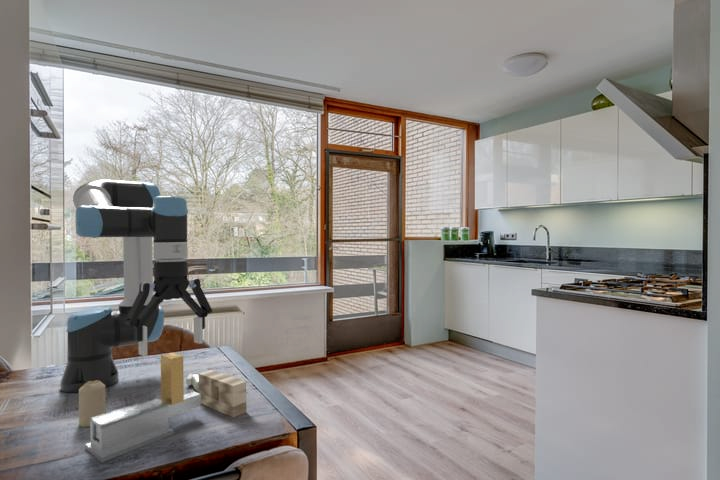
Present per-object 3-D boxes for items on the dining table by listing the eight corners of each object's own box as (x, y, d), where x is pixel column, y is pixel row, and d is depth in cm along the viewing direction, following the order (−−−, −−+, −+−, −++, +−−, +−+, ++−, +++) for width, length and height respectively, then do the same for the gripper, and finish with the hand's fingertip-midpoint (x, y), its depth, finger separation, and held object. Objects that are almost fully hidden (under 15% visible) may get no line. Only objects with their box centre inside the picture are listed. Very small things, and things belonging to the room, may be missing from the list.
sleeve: (85, 448, 88) (84, 416, 88) (155, 423, 100) (155, 395, 100) (102, 462, 82) (101, 428, 82) (174, 434, 94) (173, 404, 94)
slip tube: (93, 435, 88) (93, 370, 87) (192, 402, 105) (191, 348, 105) (103, 442, 84) (102, 375, 84) (202, 406, 102) (202, 351, 102)
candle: (85, 429, 97) (85, 387, 97) (74, 423, 100) (74, 383, 100) (110, 420, 102) (109, 380, 102) (98, 415, 105) (98, 376, 105)
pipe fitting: (203, 394, 120) (216, 385, 126) (203, 382, 119) (215, 372, 126) (179, 392, 121) (193, 383, 128) (178, 380, 121) (192, 371, 128)
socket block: (198, 402, 113) (198, 373, 113) (211, 397, 116) (211, 369, 116) (233, 417, 103) (232, 385, 103) (246, 412, 106) (246, 381, 106)
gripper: (122, 263, 86) (123, 363, 86) (225, 258, 106) (226, 340, 106) (107, 262, 91) (108, 358, 91) (208, 258, 111) (210, 336, 110)
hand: (172, 348), depth 98 cm, fingers open, 13 cm apart
